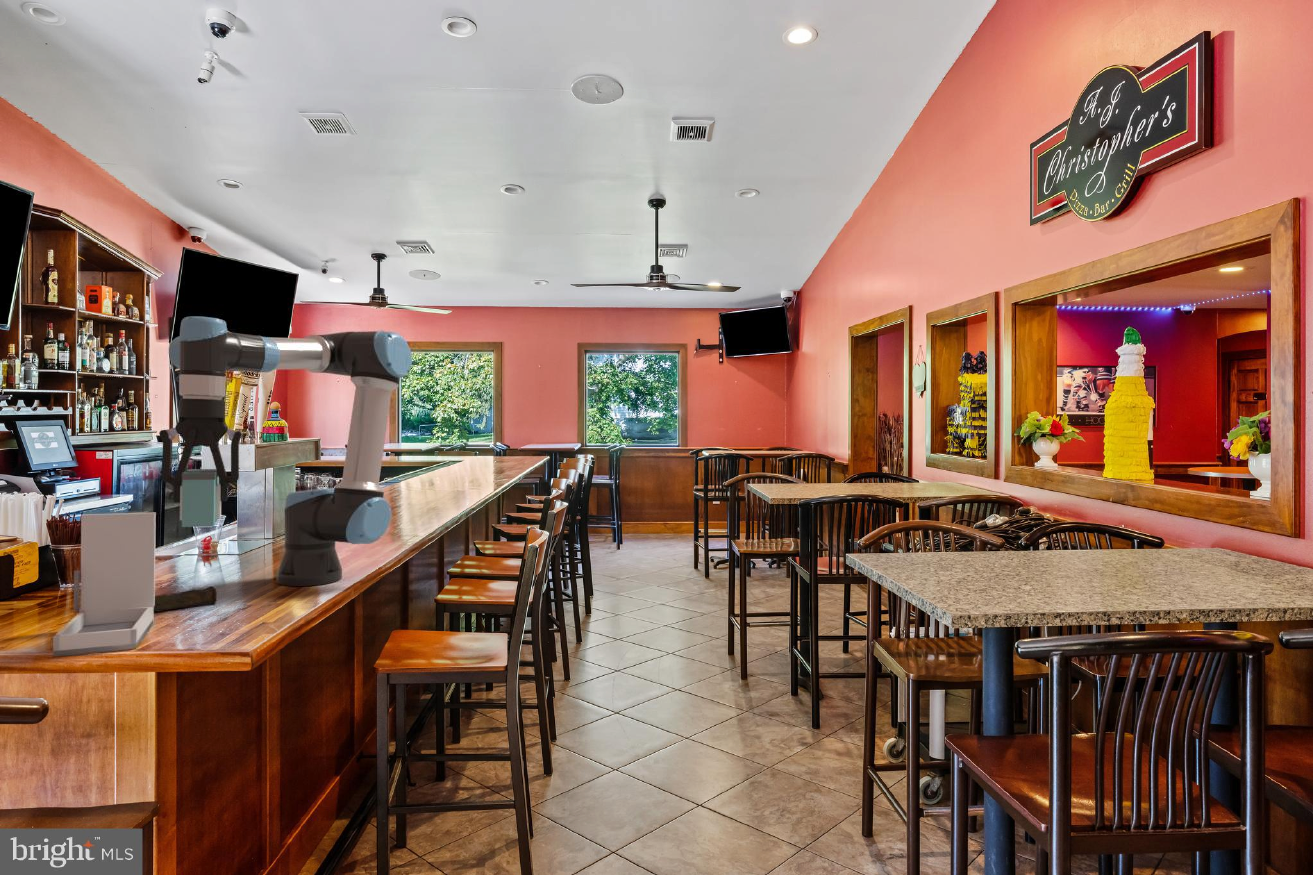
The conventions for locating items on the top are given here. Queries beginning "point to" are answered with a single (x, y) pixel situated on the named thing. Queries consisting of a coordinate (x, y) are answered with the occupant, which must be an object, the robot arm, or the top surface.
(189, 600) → the hand tool
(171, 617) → the top surface
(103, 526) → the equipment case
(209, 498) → the block
